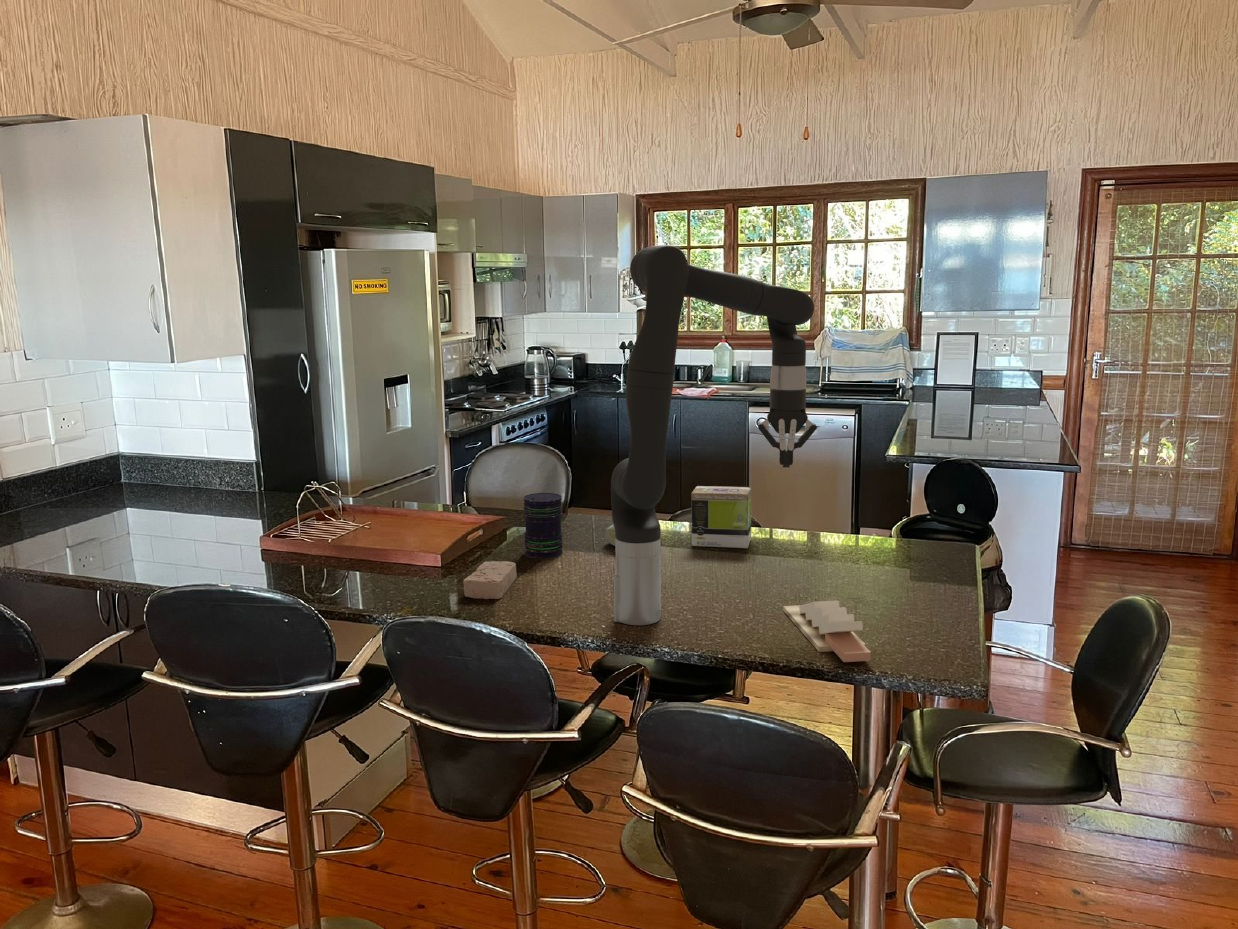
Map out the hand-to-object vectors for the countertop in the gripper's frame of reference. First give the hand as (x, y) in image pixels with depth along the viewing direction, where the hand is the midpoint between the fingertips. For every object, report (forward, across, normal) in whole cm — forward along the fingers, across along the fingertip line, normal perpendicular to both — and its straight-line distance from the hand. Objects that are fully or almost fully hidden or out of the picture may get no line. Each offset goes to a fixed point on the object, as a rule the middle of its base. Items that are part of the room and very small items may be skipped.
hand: (786, 466), depth 201 cm
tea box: (+29, -15, +42) cm, 53 cm away
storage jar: (+29, -60, +27) cm, 72 cm away
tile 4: (+27, +8, -25) cm, 38 cm away
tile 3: (+27, +7, -21) cm, 35 cm away
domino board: (+29, +7, -20) cm, 36 cm away
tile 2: (+27, +6, -17) cm, 33 cm away
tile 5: (+27, +9, -28) cm, 40 cm away
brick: (+30, -66, -2) cm, 72 cm away
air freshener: (+29, -40, +37) cm, 62 cm away
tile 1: (+27, +5, -13) cm, 31 cm away
